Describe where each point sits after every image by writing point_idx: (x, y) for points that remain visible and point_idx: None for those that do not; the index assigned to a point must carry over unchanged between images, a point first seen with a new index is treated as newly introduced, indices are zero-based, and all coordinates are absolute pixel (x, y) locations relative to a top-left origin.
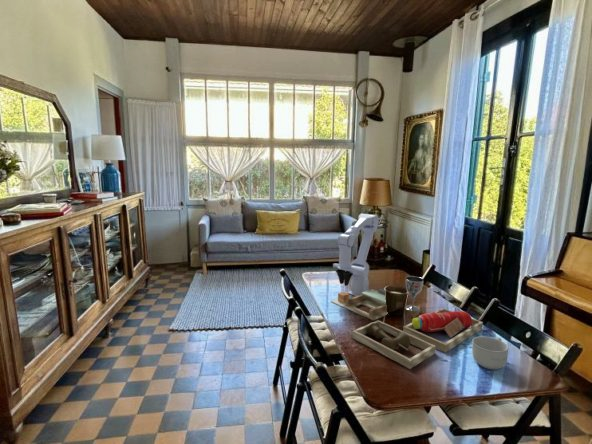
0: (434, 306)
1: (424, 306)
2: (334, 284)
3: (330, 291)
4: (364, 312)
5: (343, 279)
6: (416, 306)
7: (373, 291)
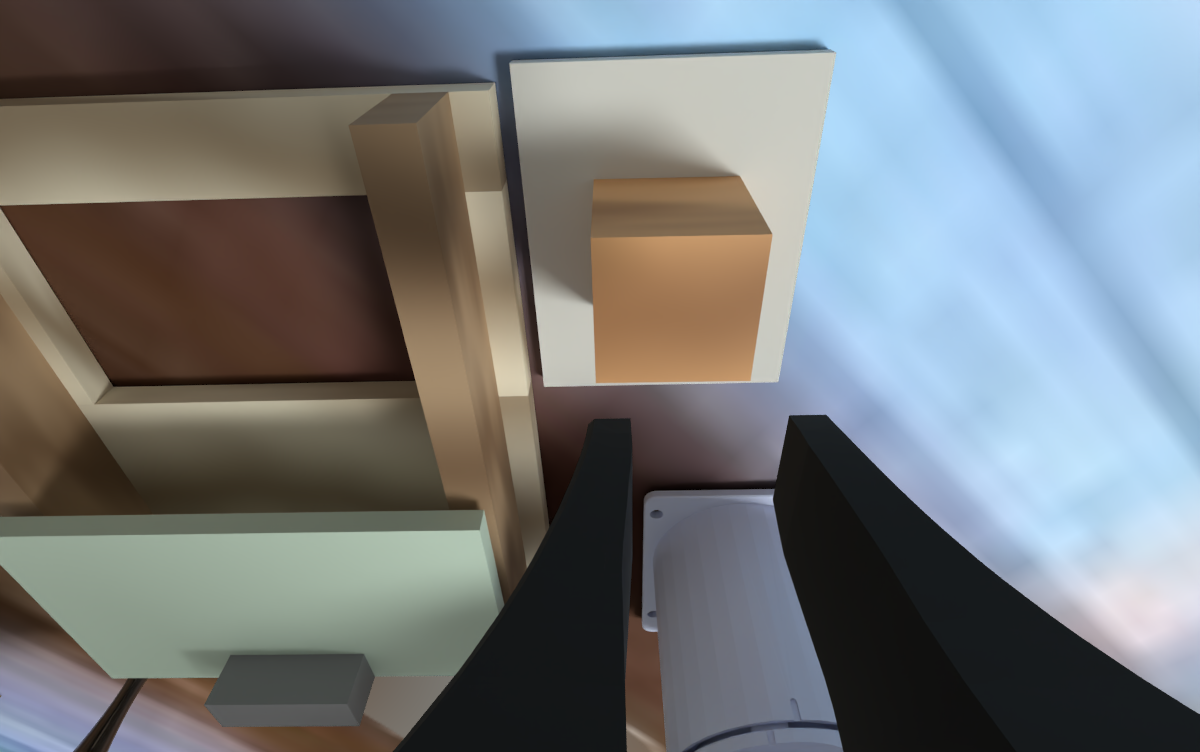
0: (159, 737)
1: (177, 706)
2: (1145, 545)
3: (1085, 365)
4: (65, 172)
5: (806, 587)
6: None
7: (435, 644)
